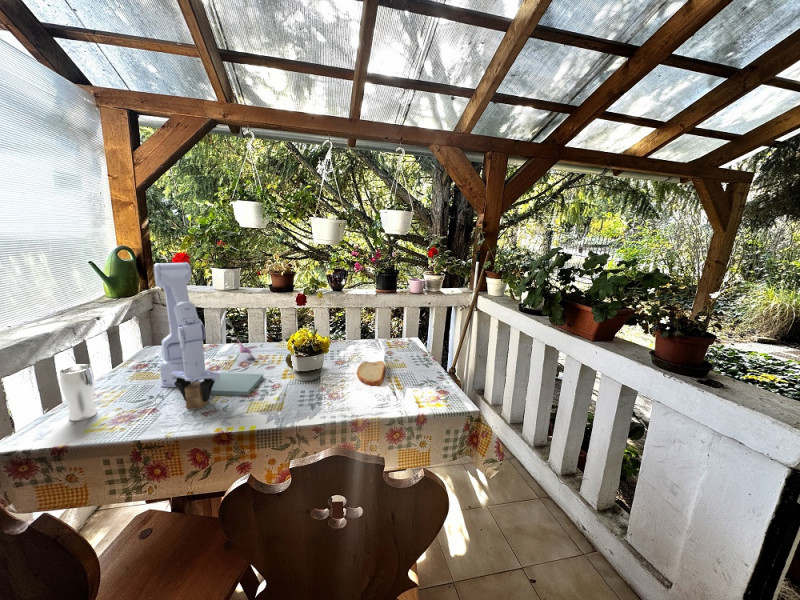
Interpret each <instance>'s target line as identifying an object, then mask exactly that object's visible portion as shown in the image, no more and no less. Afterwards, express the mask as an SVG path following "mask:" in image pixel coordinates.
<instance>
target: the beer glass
mask: <svg viewBox="0 0 800 600" xmlns="http://www.w3.org/2000/svg"><path fill="white" fill-rule="evenodd" d="M93 372H94V371H93V368H92V365H91V364H88V363H84V364H73V365H71V366H67V367H64V368H61V369H60V370H59V377H60V386H61V390H62V394H63V396H64V398H65V400H66V402H67V404H68V407H69V415H68V419H69V421H72V422H80V421H85V420H88V419H91V418H93V417H94V416H96V415H97V414H98V409H97V407H96V405H95V399H94V397H95V385H96V383H95V376H94V373H93Z"/></svg>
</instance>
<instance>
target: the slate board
mask: <svg viewBox="0 0 800 600" xmlns="http://www.w3.org/2000/svg"><path fill="white" fill-rule="evenodd" d="M219 373H220V379H219V380H218V381H215V382H214V384H213V387H212V390H211V393H210V395H215V396H216V395H217V396H249V395H250V394H251V393H252V391H253V390H254V389H255V388H256V387H257V386H258V385H259V384H260V382H262V380H263V379H264V374H262V373H236V372H235V373H233V372H219Z"/></svg>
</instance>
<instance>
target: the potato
mask: <svg viewBox="0 0 800 600" xmlns="http://www.w3.org/2000/svg"><path fill="white" fill-rule="evenodd" d="M285 363H286V365H287V367H289V369H292V370H294V369H293V366H292V361H291V355H290V353H288V354H287V356H286V357H285Z"/></svg>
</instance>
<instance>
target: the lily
mask: <svg viewBox="0 0 800 600" xmlns="http://www.w3.org/2000/svg"><path fill="white" fill-rule="evenodd" d="M235 339H236V341H238V343H239V344H238V346H239V353H238V354H237V355H236V357H235V360H234V361H235V362H236V361H237V359H238V356H239V355H240V354H248V355H249V356H251V357H252V358H253V359H254V358H255V357H254V355H253V351H252V350H251V349H250V348H249V346H248V345H246V346H244V345H243V344H242V343H241V341H240V340H239V339H237V337H235Z"/></svg>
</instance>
